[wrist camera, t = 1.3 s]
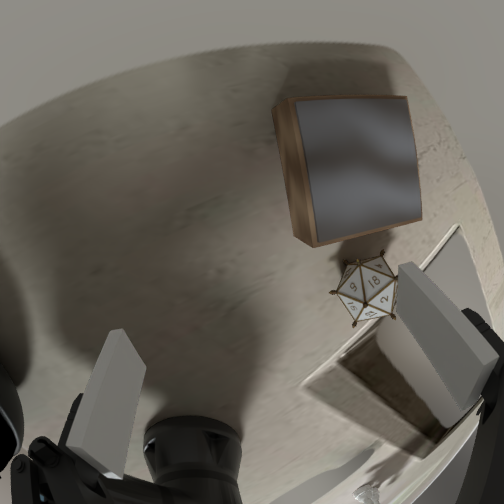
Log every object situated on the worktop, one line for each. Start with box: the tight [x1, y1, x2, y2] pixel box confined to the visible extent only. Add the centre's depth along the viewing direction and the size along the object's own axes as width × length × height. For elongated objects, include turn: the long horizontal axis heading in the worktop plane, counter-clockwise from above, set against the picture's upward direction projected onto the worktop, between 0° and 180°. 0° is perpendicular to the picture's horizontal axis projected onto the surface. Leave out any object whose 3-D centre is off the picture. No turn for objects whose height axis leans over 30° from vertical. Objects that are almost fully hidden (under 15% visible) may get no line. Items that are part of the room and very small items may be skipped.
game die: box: [329, 249, 398, 328], centre depth 32 cm, size 9×8×10 cm
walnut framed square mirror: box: [271, 95, 422, 248], centre depth 29 cm, size 14×14×6 cm
